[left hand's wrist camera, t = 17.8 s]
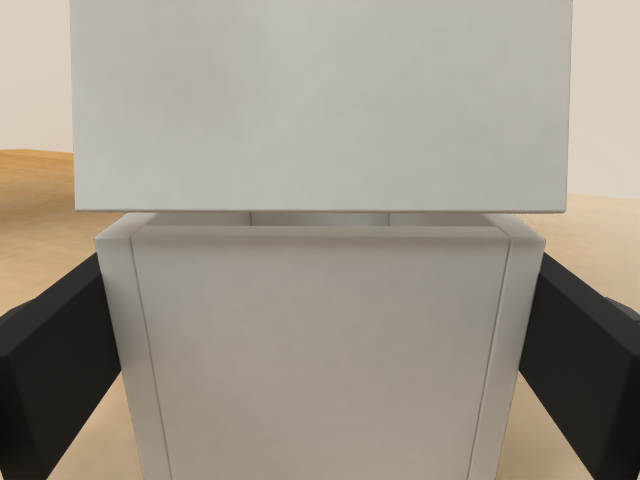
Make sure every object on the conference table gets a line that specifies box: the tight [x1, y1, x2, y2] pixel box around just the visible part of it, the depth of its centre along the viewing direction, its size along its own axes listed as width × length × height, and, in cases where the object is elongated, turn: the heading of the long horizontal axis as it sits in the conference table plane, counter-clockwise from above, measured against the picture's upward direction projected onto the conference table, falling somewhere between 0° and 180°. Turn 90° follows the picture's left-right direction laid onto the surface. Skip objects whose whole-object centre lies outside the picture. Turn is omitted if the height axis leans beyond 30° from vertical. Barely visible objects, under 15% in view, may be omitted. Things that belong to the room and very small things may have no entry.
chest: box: [94, 213, 546, 480], centre depth 19 cm, size 16×10×9 cm, turn 0°
